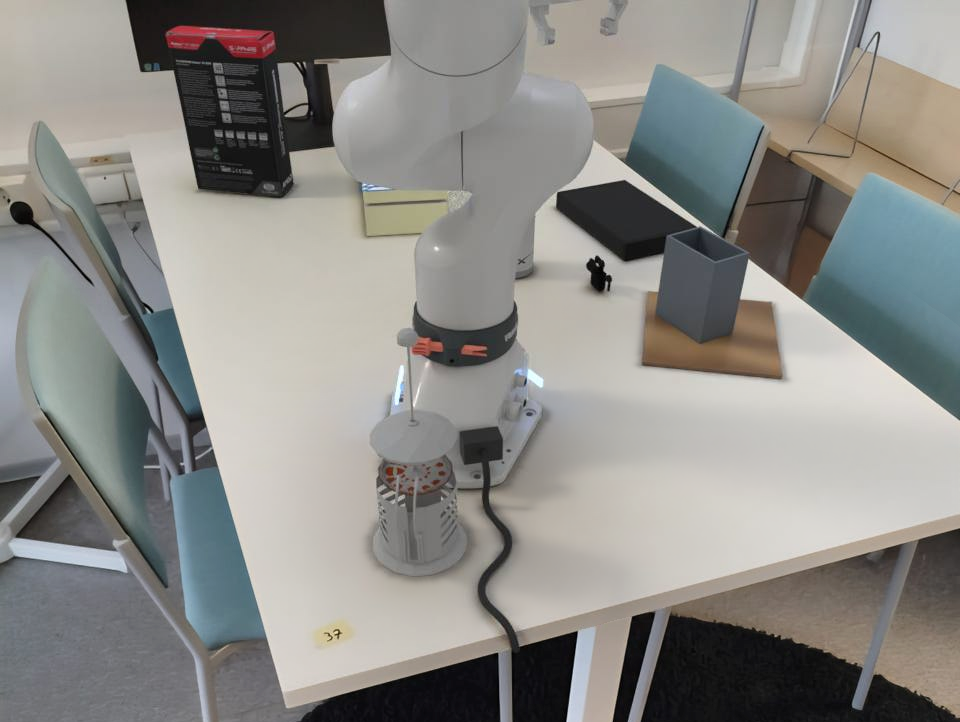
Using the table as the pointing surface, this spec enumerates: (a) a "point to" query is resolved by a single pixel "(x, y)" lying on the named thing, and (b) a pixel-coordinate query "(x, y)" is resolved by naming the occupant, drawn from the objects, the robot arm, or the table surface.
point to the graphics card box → (232, 109)
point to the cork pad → (717, 343)
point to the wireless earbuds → (598, 274)
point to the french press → (416, 488)
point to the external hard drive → (622, 218)
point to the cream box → (401, 210)
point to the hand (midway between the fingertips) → (577, 39)
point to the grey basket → (701, 284)
